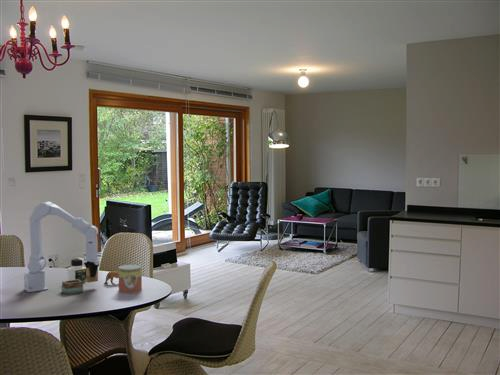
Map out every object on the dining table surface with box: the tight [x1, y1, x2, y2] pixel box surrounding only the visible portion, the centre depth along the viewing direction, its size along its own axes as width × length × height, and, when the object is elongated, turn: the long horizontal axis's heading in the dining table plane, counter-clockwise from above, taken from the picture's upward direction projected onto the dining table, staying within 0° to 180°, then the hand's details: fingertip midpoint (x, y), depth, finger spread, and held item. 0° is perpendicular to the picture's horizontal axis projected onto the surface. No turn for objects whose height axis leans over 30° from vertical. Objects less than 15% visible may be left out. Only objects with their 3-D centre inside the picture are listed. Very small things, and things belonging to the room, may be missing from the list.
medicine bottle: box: [67, 257, 86, 283], centre depth 274 cm, size 7×7×12 cm
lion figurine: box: [103, 270, 119, 286], centre depth 270 cm, size 15×5×9 cm, turn 130°
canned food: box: [117, 264, 143, 295], centre depth 256 cm, size 11×11×12 cm
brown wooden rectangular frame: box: [61, 279, 84, 289], centre depth 253 cm, size 8×6×2 cm
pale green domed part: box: [61, 285, 84, 295], centre depth 253 cm, size 10×10×2 cm
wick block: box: [85, 267, 99, 284], centre depth 260 cm, size 5×2×7 cm, turn 130°
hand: (91, 276), depth 259 cm, fingers closed on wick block, 2 cm apart
